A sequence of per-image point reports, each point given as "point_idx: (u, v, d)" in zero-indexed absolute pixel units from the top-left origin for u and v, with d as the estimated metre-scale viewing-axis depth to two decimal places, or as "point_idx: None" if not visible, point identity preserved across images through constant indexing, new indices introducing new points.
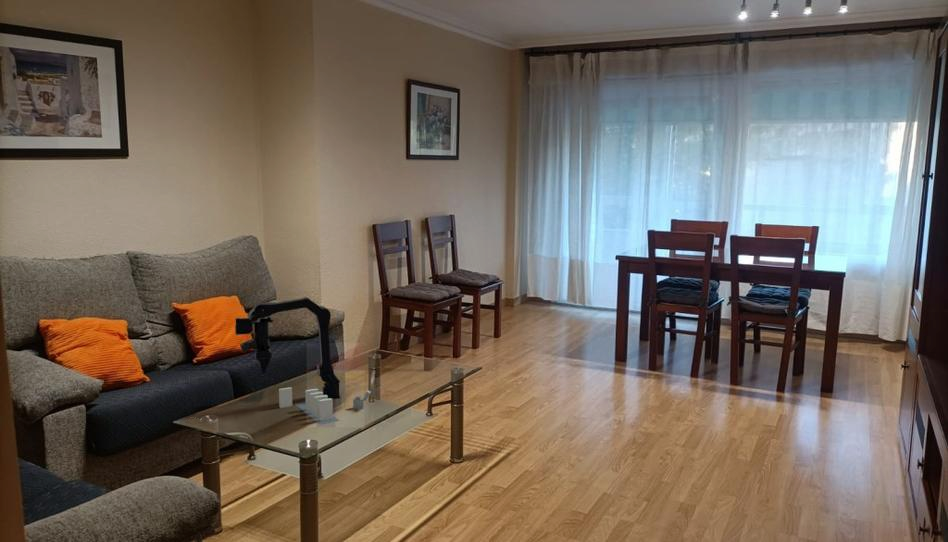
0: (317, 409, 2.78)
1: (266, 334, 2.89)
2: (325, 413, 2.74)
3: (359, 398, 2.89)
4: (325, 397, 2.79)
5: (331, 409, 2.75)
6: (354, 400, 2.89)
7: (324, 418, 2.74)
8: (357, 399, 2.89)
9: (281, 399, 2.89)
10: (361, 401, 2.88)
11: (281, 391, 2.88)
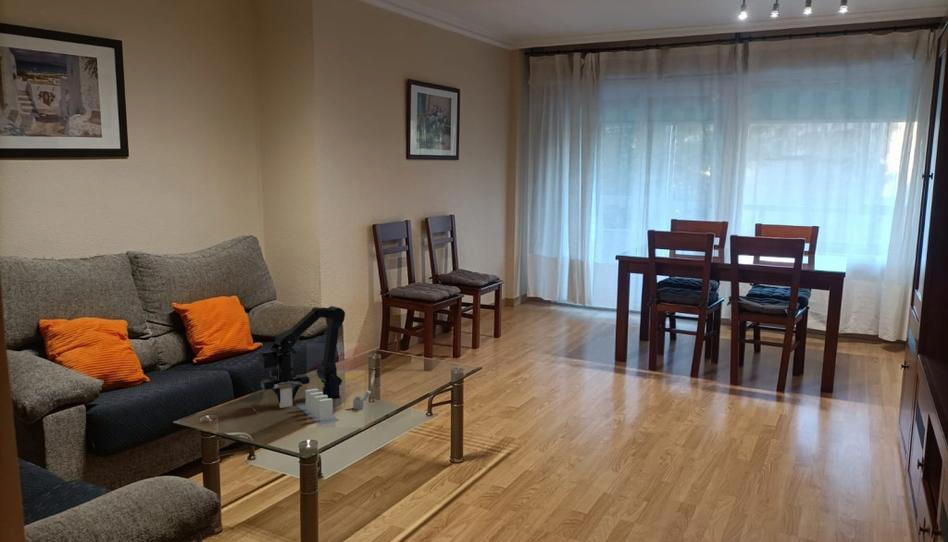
0: (317, 409, 2.78)
1: (281, 367, 2.86)
2: (325, 413, 2.74)
3: (359, 398, 2.89)
4: (325, 397, 2.79)
5: (331, 409, 2.75)
6: (354, 400, 2.89)
7: (324, 418, 2.74)
8: (357, 399, 2.89)
9: (281, 399, 2.89)
10: (361, 401, 2.88)
11: (281, 391, 2.88)
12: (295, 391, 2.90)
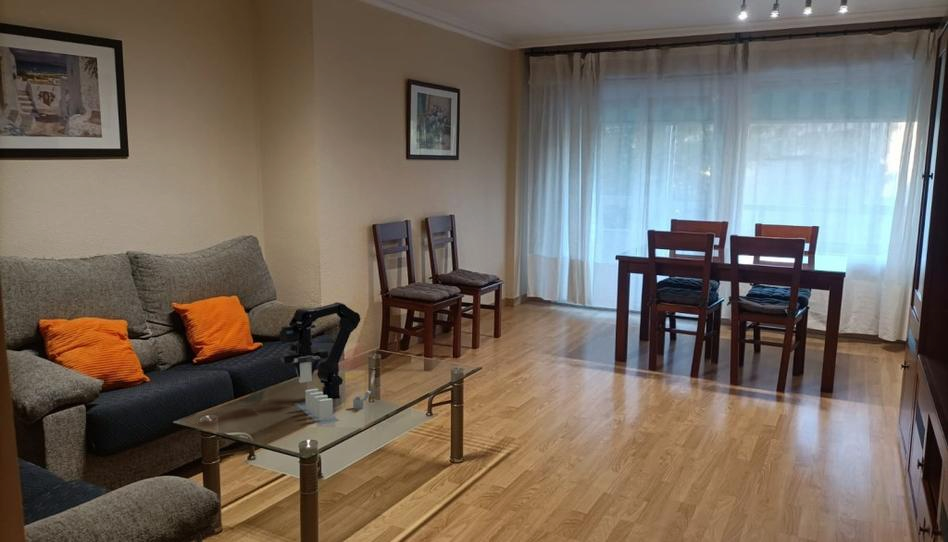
0: (317, 409, 2.78)
1: (300, 341, 2.88)
2: (325, 413, 2.74)
3: (359, 398, 2.89)
4: (325, 397, 2.79)
5: (331, 409, 2.75)
6: (354, 400, 2.89)
7: (324, 418, 2.74)
8: (357, 399, 2.89)
9: (301, 373, 2.91)
10: (361, 401, 2.88)
11: (301, 365, 2.91)
12: (314, 365, 2.92)
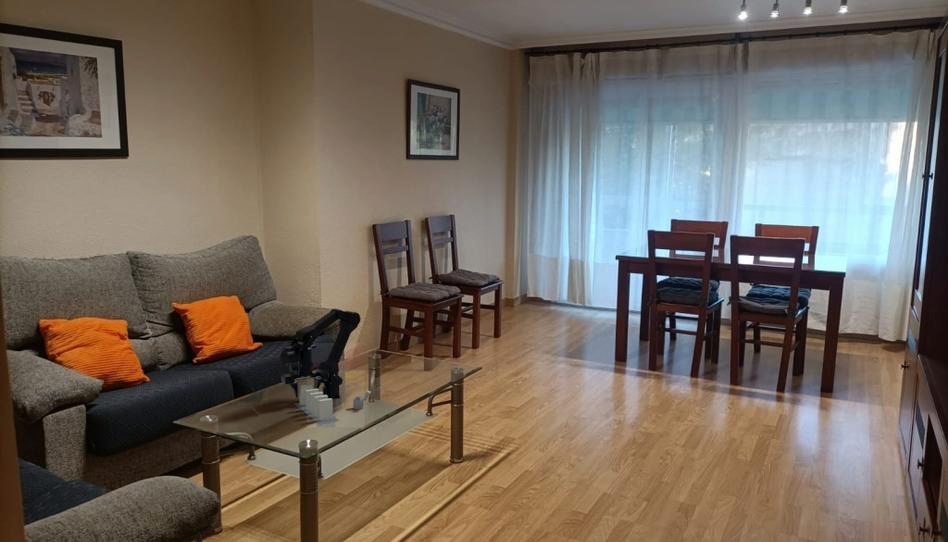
0: (317, 409, 2.78)
1: (301, 362, 2.89)
2: (325, 413, 2.74)
3: (359, 398, 2.89)
4: (325, 397, 2.79)
5: (331, 409, 2.75)
6: (354, 400, 2.89)
7: (324, 418, 2.74)
8: (357, 399, 2.89)
9: (301, 396, 2.92)
10: (361, 401, 2.88)
11: (301, 388, 2.92)
12: (318, 385, 2.94)
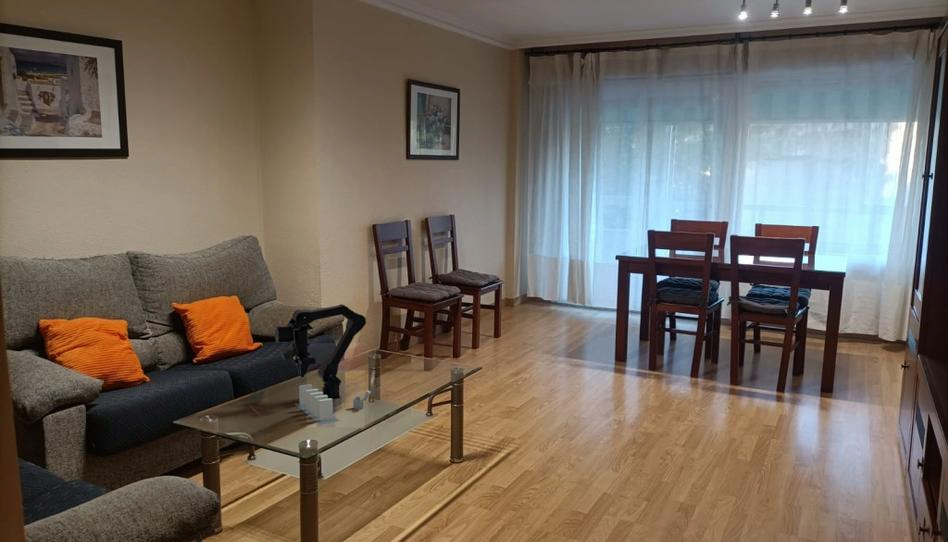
0: (317, 409, 2.78)
1: (306, 341, 2.94)
2: (325, 413, 2.74)
3: (359, 398, 2.89)
4: (325, 397, 2.79)
5: (331, 409, 2.75)
6: (354, 400, 2.89)
7: (324, 418, 2.74)
8: (357, 399, 2.89)
9: (301, 396, 2.92)
10: (361, 401, 2.88)
11: (301, 388, 2.92)
12: None
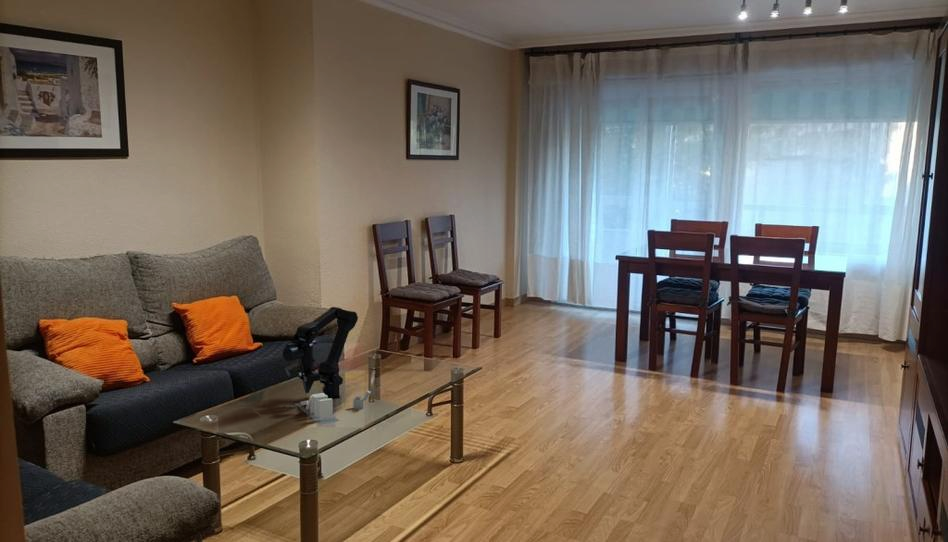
0: (317, 409, 2.78)
1: (312, 357, 2.89)
2: (325, 413, 2.74)
3: (359, 398, 2.89)
4: (325, 397, 2.79)
5: (331, 409, 2.75)
6: (354, 400, 2.89)
7: (324, 418, 2.74)
8: (357, 399, 2.89)
9: (305, 404, 2.89)
10: (361, 401, 2.88)
11: None
12: None
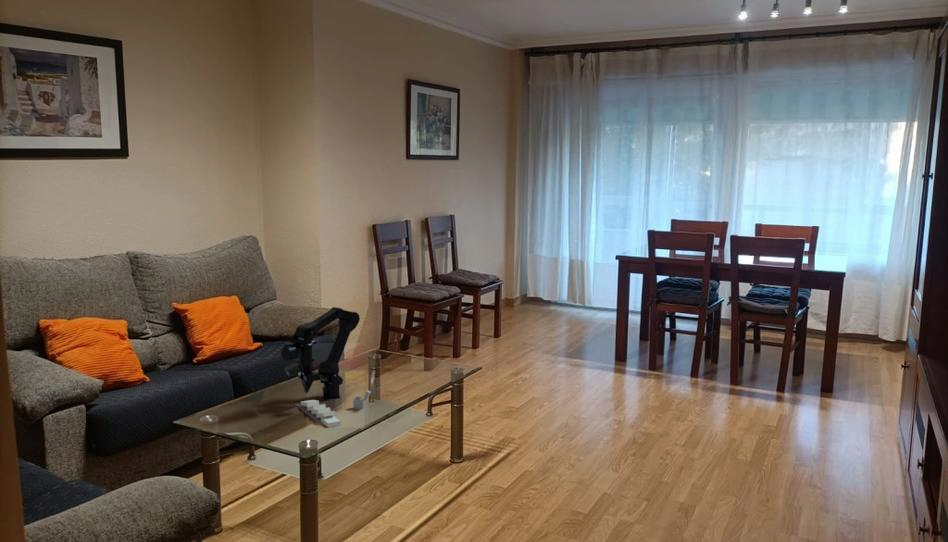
0: None
1: (311, 357, 2.90)
2: None
3: (359, 398, 2.89)
4: None
5: None
6: (354, 400, 2.89)
7: None
8: (357, 399, 2.89)
9: (305, 405, 2.89)
10: (361, 401, 2.88)
11: None
12: None
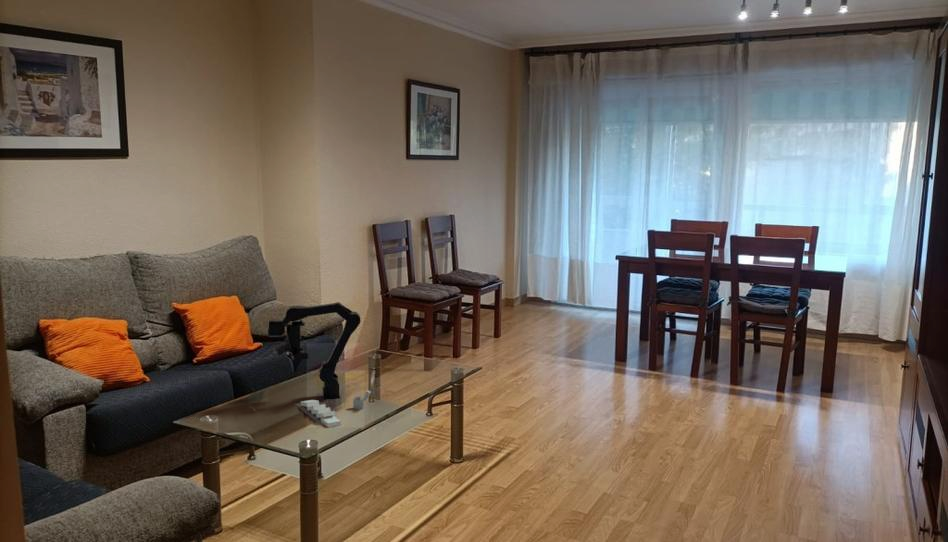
0: None
1: (299, 336, 2.98)
2: None
3: (359, 398, 2.89)
4: None
5: None
6: (354, 400, 2.89)
7: None
8: (357, 399, 2.89)
9: (305, 405, 2.89)
10: (361, 401, 2.88)
11: None
12: None
